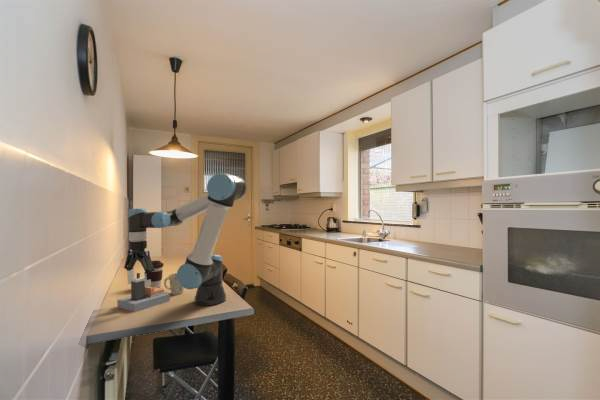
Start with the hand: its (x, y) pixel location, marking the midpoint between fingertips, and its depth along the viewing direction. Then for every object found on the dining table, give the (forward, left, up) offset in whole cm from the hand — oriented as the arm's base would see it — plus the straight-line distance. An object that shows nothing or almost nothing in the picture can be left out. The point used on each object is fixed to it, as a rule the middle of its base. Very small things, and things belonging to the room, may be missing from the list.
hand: (139, 285), depth 148 cm
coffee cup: (+23, -24, -10) cm, 35 cm away
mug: (+3, -22, -10) cm, 24 cm away
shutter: (0, -8, -6) cm, 10 cm away
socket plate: (0, -3, -10) cm, 10 cm away
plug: (0, 0, -10) cm, 10 cm away
